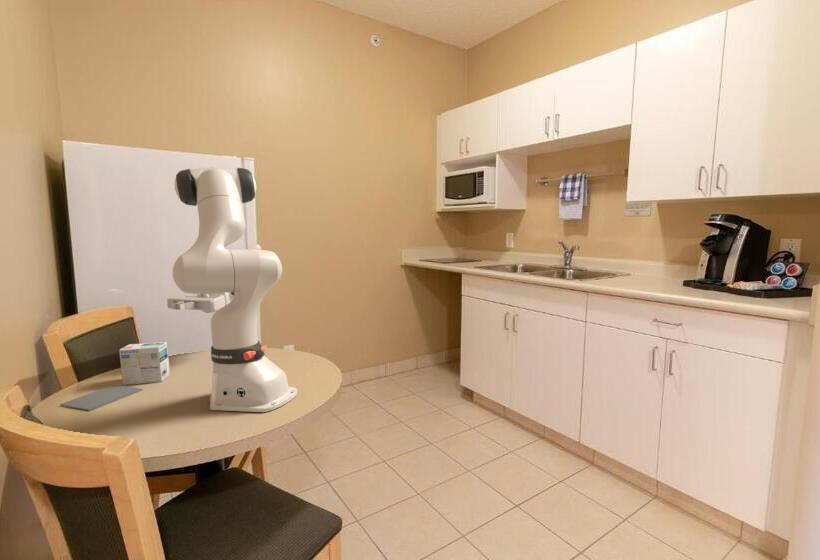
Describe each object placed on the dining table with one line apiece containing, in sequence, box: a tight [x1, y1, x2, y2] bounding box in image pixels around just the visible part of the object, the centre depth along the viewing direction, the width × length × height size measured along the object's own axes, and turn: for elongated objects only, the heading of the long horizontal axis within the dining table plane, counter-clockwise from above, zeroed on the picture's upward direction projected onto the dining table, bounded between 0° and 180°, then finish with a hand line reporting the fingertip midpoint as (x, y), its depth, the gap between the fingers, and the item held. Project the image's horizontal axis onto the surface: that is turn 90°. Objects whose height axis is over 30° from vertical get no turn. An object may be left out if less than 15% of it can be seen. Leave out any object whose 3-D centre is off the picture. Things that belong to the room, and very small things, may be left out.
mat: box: [59, 384, 144, 412], centre depth 108 cm, size 11×14×1 cm
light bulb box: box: [118, 341, 171, 386], centre depth 121 cm, size 11×7×11 cm, turn 102°
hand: (176, 307), depth 130 cm, fingers closed
